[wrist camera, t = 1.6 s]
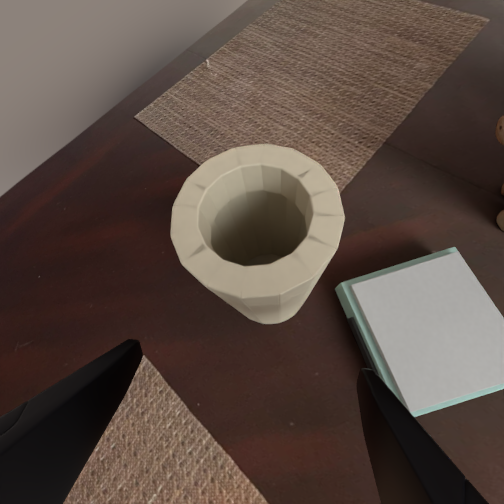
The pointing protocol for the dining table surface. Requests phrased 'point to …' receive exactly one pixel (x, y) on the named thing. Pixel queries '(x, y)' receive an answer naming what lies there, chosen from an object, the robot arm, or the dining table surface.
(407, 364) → the scale
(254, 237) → the jar
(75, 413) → the robot arm
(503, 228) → the figurine
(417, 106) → the dining table surface
